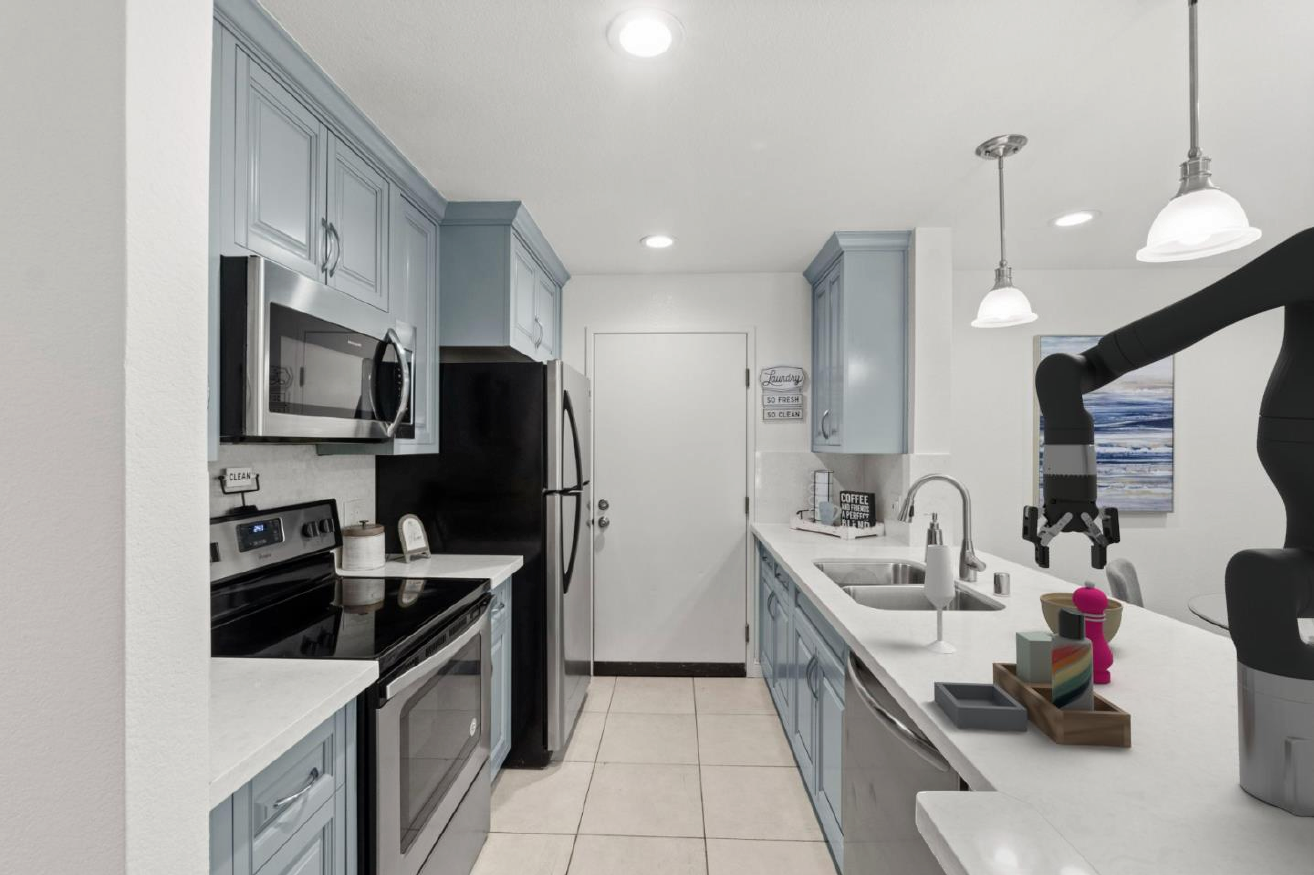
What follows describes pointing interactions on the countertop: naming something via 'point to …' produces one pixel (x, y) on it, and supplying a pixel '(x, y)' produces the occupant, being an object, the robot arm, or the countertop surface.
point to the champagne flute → (939, 589)
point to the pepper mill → (1095, 628)
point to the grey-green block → (1034, 657)
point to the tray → (980, 706)
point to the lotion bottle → (1072, 663)
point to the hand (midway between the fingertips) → (1070, 568)
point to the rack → (1066, 713)
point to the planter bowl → (1058, 600)
